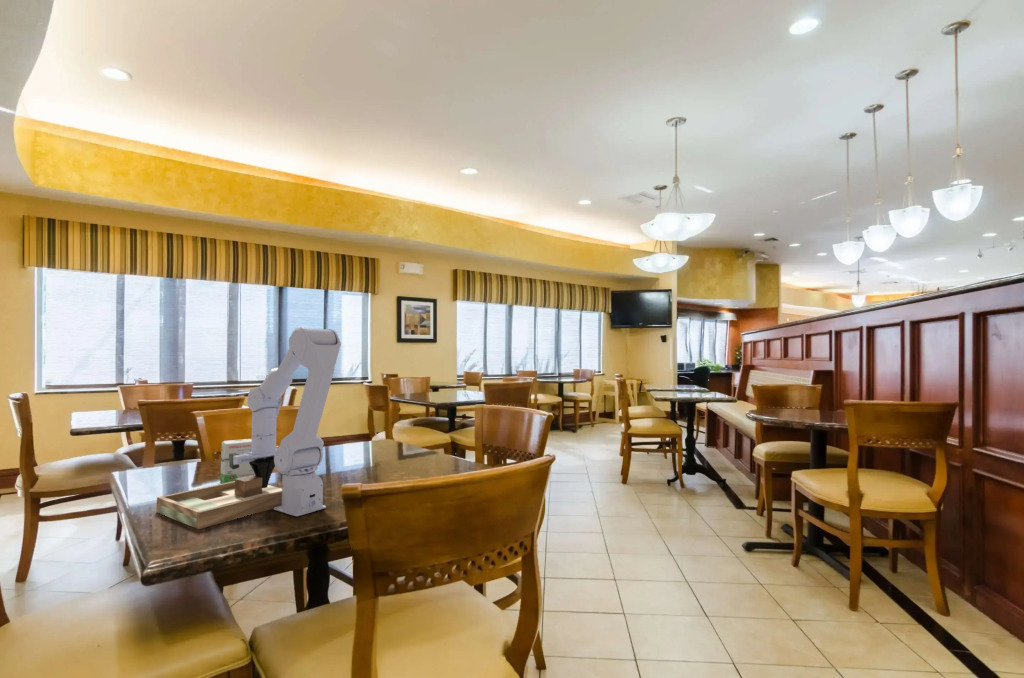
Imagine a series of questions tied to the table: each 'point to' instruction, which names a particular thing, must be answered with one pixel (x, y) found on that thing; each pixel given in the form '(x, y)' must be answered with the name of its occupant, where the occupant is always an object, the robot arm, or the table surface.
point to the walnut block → (248, 486)
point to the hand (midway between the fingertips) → (262, 487)
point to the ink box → (227, 467)
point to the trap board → (216, 504)
